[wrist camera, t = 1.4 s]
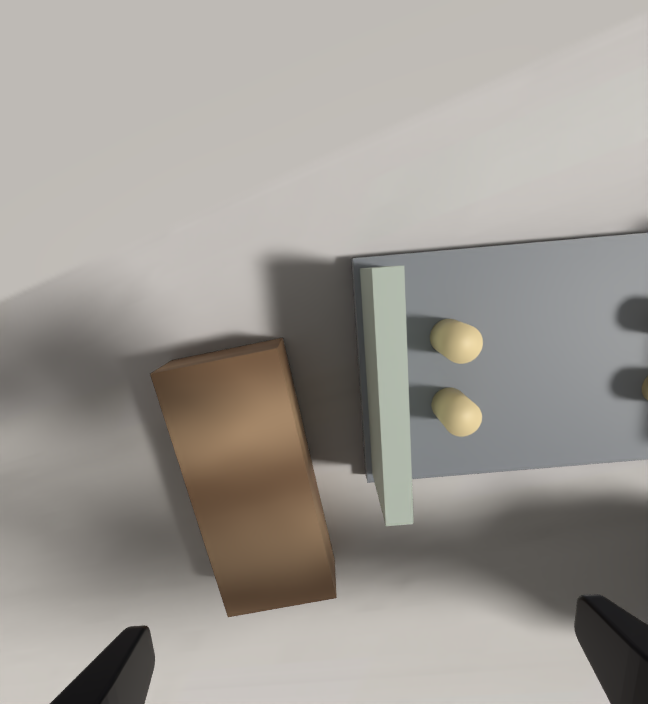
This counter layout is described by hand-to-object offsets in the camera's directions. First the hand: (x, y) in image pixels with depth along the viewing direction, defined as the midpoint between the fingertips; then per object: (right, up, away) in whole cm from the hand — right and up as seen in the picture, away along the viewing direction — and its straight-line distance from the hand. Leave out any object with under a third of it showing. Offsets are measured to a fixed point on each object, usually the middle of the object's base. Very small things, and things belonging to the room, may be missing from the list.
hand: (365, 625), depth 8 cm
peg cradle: (+11, +5, +12) cm, 17 cm away
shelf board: (-5, -1, +14) cm, 14 cm away
